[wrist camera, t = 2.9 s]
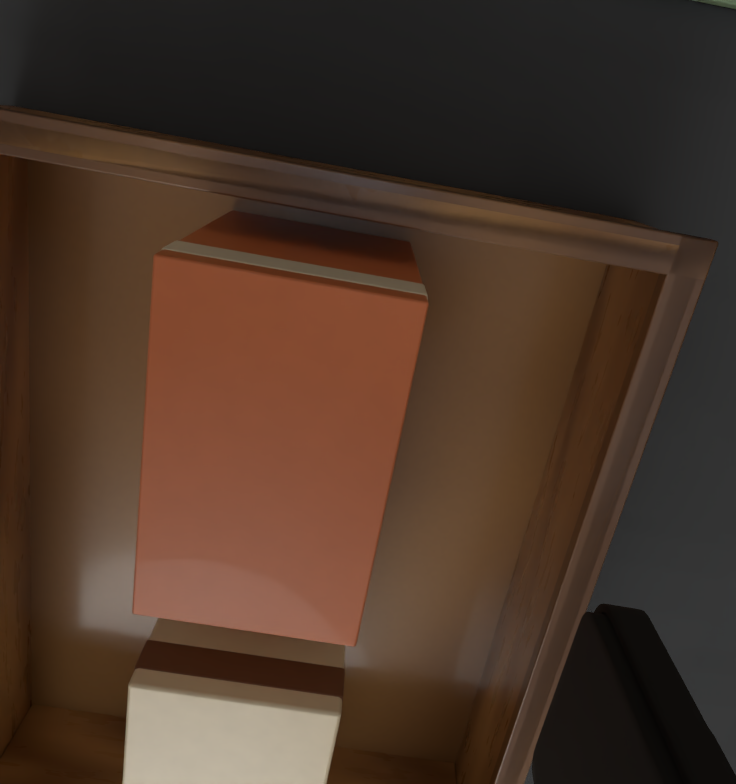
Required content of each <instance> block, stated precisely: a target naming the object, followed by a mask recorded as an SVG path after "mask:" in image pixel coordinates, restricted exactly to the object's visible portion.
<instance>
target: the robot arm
mask: <svg viewBox="0 0 736 784" xmlns="http://www.w3.org/2000/svg"><path fill="white" fill-rule="evenodd" d="M532 774H533V781H534V784H736V775H735V774H734V772H733V770H732V768H731V766H730V764H729V762H728V761H727V759H726V757H725V755H724V753H723V751H722V749H721V748H720V746H719V744H718V742H717V740H716V738H715V736H714V735H713V734H712V732H711V731H710V729H709V728H708V726H707V724H706V723H705V721H704V719H703V717H702V715H701V713H700V711H699V710H698V708H697V706H696V704H695V702H694V700H693V698H692V697H691V695H690V693H689V691H688V689H687V687H686V685H685V684H684V682H683V680H682V678H681V676H680V674H679V672H678V671H677V669H676V667H675V665H674V663H673V661H672V659H671V658H670V656H669V654H668V652H667V650H666V648H665V646H664V644H663V643H662V641H661V639H660V637H659V635H658V633H657V631H656V630H655V628H654V626H653V624H652V622H651V620H650V618H649V617H648V615H647V614H646V613H645V612H644V611H642V610H639V609H633V608H627V607H621V606H615V605H609V604H600V605H599V606H598V607H597V608H596V610H595V612H594V613H592V612H586V613H585V614H584V615H583V616H582V618H581V620H580V623H579V626H578V629H577V632H576V634H575V637H574V640H573V643H572V646H571V648H570V651H569V654H568V657H567V660H566V662H565V665H564V668H563V671H562V674H561V676H560V679H559V682H558V685H557V688H556V690H555V693H554V696H553V699H552V702H551V704H550V707H549V710H548V713H547V715H546V718H545V721H544V724H543V727H542V729H541V732H540V735H539V738H538V741H537V743H536V746H535V749H534V753H533V760H532Z"/></svg>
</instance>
